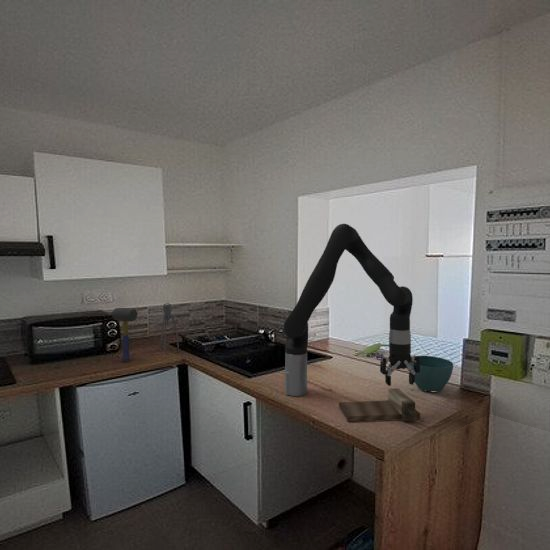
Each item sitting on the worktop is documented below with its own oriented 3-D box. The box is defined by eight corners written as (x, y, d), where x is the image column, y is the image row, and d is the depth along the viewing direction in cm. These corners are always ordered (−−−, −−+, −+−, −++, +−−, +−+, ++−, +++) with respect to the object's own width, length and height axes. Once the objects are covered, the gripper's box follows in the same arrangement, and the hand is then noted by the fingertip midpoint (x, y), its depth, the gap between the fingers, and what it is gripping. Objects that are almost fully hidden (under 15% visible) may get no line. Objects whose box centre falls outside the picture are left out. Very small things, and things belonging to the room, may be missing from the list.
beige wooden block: (403, 421, 123) (404, 403, 123) (387, 404, 137) (387, 388, 137) (415, 421, 123) (415, 402, 123) (397, 404, 137) (397, 387, 137)
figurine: (404, 354, 210) (404, 345, 210) (375, 362, 195) (375, 352, 194) (379, 348, 225) (379, 339, 225) (350, 355, 210) (350, 345, 209)
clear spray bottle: (161, 350, 223) (160, 302, 221) (178, 350, 222) (177, 302, 221) (155, 354, 213) (154, 304, 211) (173, 354, 212) (172, 304, 211)
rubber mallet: (139, 360, 200) (138, 307, 199) (130, 364, 193) (128, 309, 192) (122, 358, 205) (120, 306, 203) (112, 361, 198) (110, 308, 196)
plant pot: (415, 378, 167) (416, 353, 167) (457, 388, 155) (458, 360, 155) (400, 389, 154) (400, 361, 153) (445, 400, 142) (446, 370, 141)
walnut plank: (348, 422, 124) (348, 416, 124) (339, 407, 136) (339, 402, 136) (419, 418, 126) (419, 413, 126) (404, 404, 138) (404, 399, 138)
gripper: (385, 344, 126) (385, 389, 127) (423, 342, 127) (423, 387, 128) (377, 339, 134) (377, 382, 134) (413, 338, 135) (413, 380, 136)
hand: (400, 384), depth 131 cm, fingers open, 8 cm apart
